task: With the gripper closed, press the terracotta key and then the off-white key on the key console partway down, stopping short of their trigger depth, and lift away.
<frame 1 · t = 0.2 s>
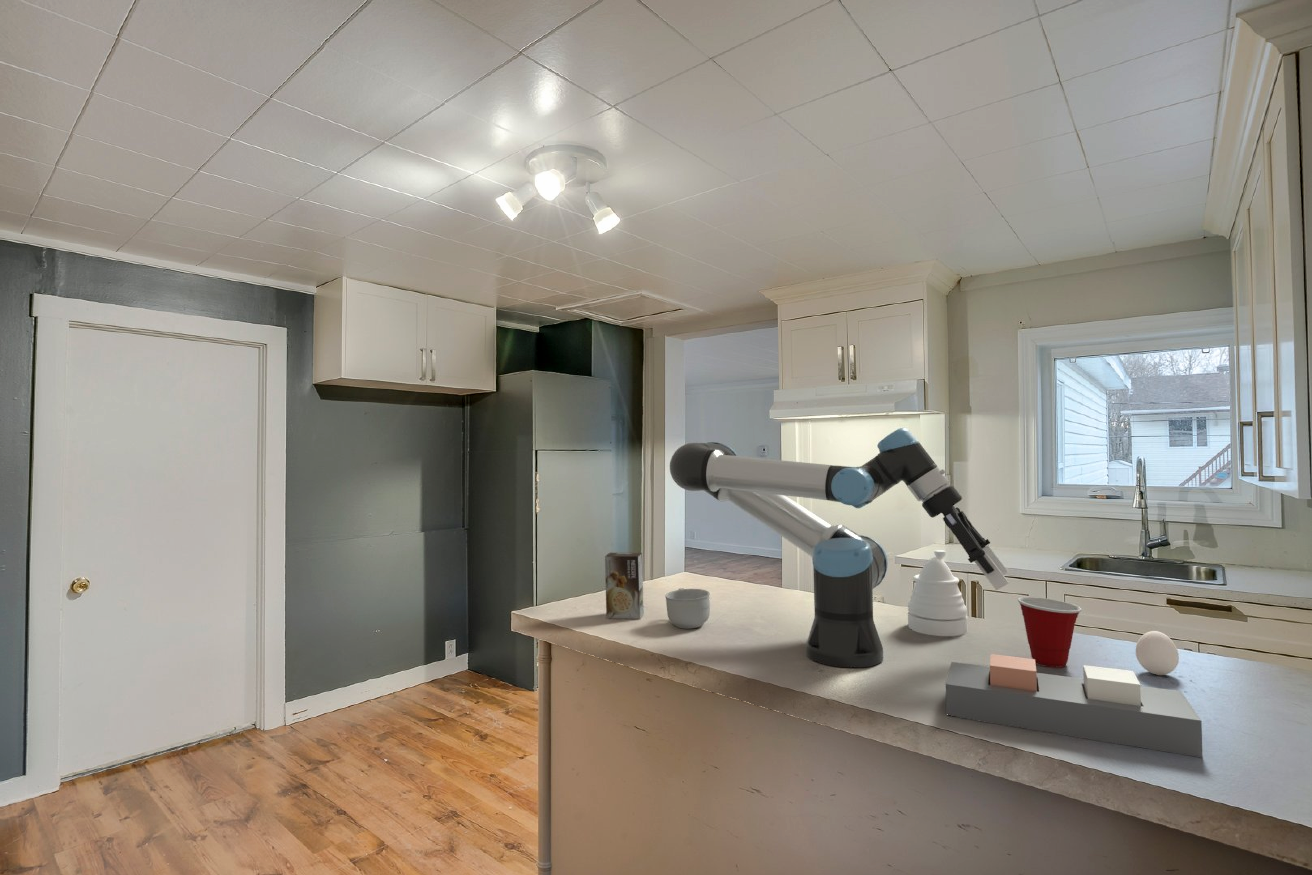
hand: (1002, 580, 132), 15 cm above the counter, tool tilted 35°, fingers open, 13 cm apart
terracotta key: (1013, 674, 105), point 6 cm above the counter, slide at 0.0 cm
plastic cup: (1050, 663, 128), on the counter
offwhite key: (1110, 687, 99), point 6 cm above the counter, slide at 0.0 cm
egg: (1157, 675, 121), on the counter
teacup: (687, 624, 161), on the counter
key console: (1061, 719, 102), on the counter
honey pot: (937, 629, 154), on the counter
coffee box: (625, 616, 170), on the counter
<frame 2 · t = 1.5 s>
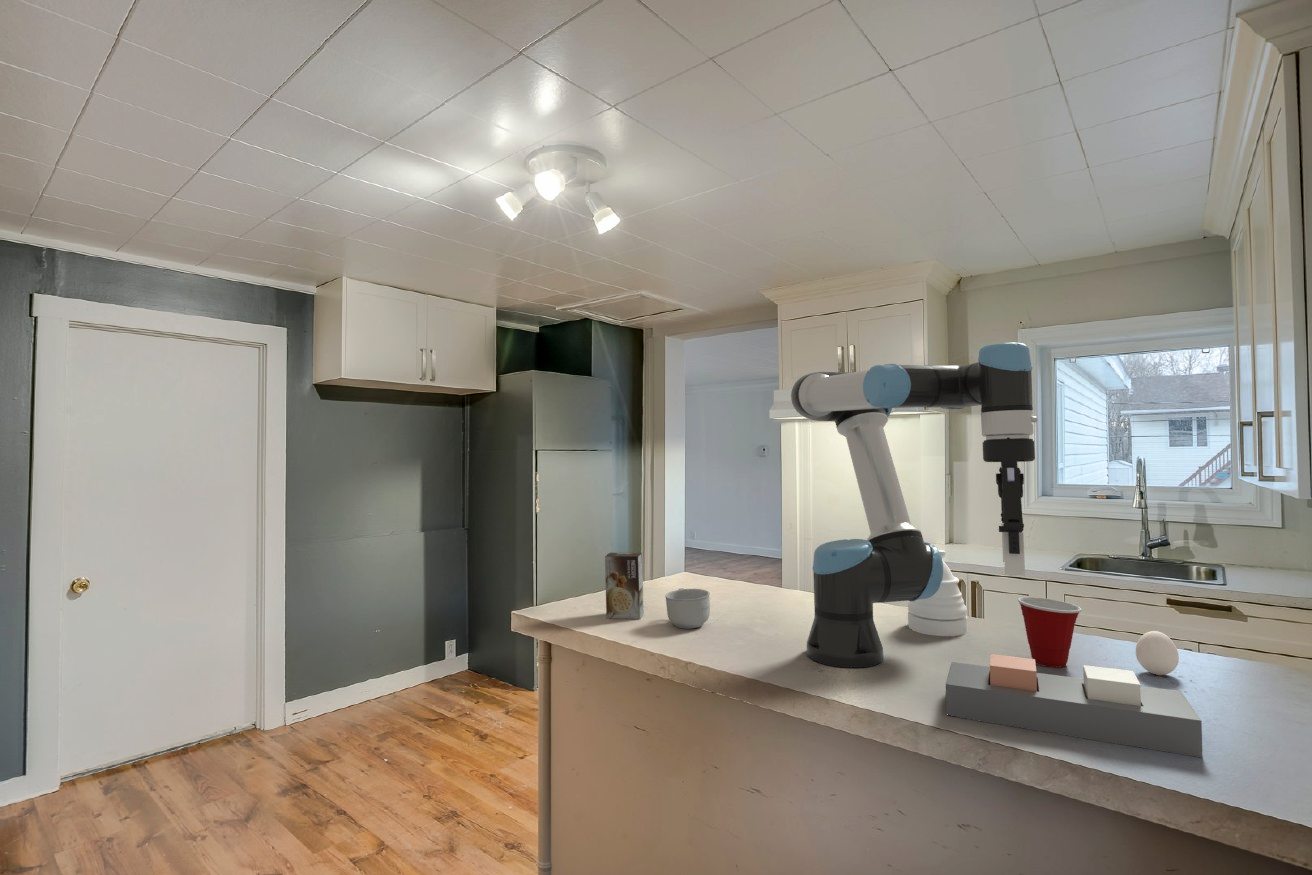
hand: (1013, 568, 107), 23 cm above the counter, tool pointing down, fingers open, 13 cm apart
nothing on the counter moved.
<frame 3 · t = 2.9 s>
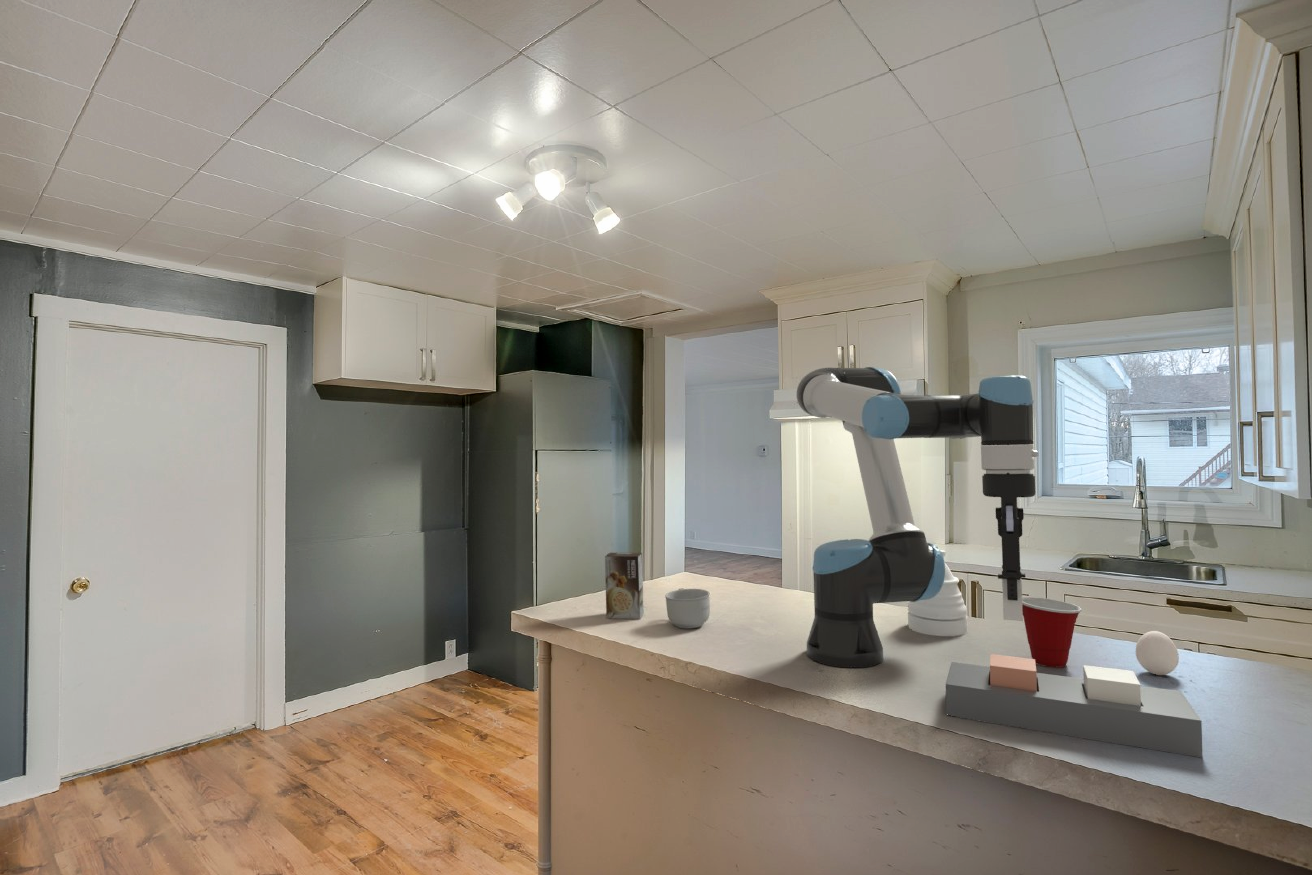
hand: (1013, 619, 105), 15 cm above the counter, tool pointing down, fingers closed
nothing on the counter moved.
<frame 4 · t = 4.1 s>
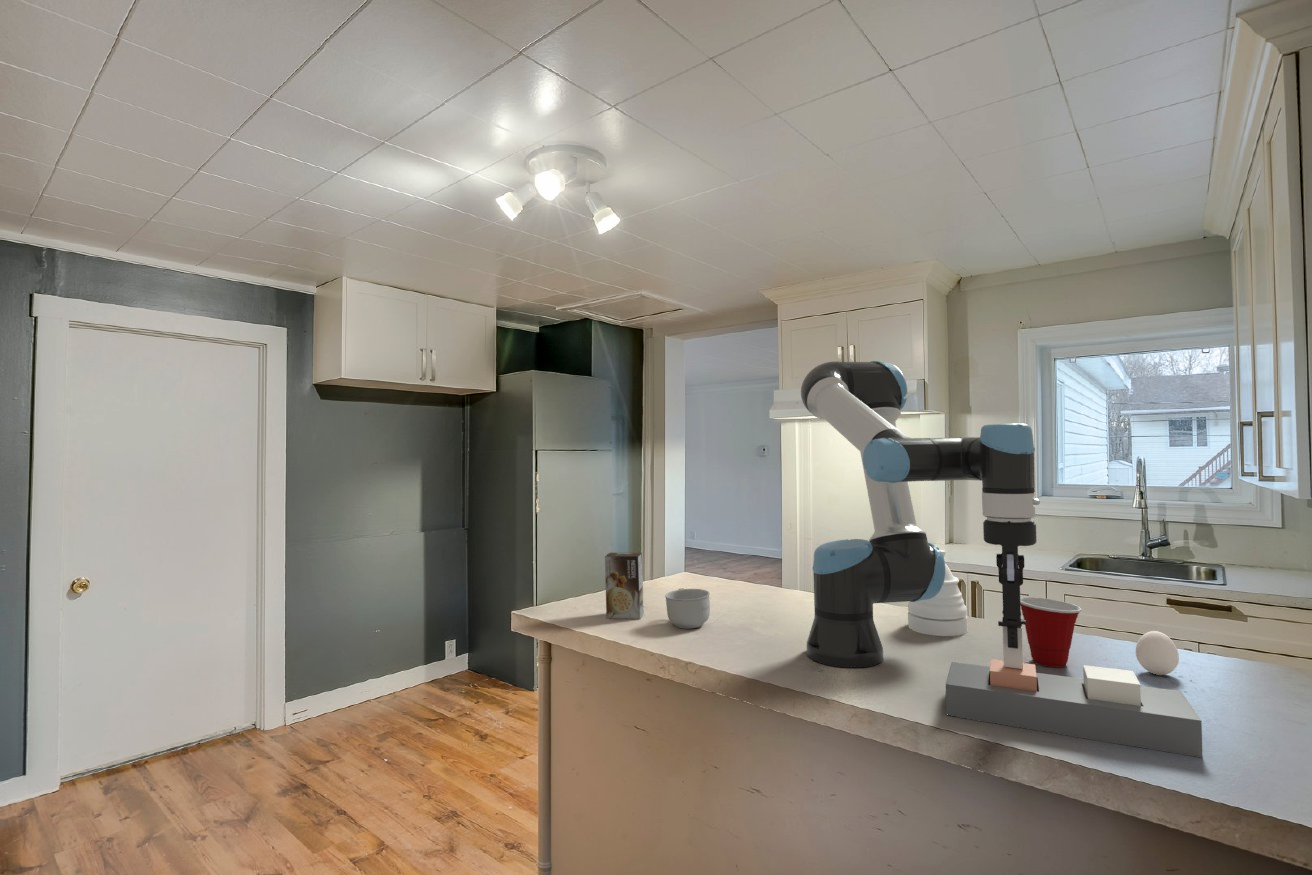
hand: (1013, 666, 105), 7 cm above the counter, tool pointing down, fingers closed
terracotta key: (1013, 680, 105), point 5 cm above the counter, slide at 0.9 cm, touching gripper
everything else where it was.
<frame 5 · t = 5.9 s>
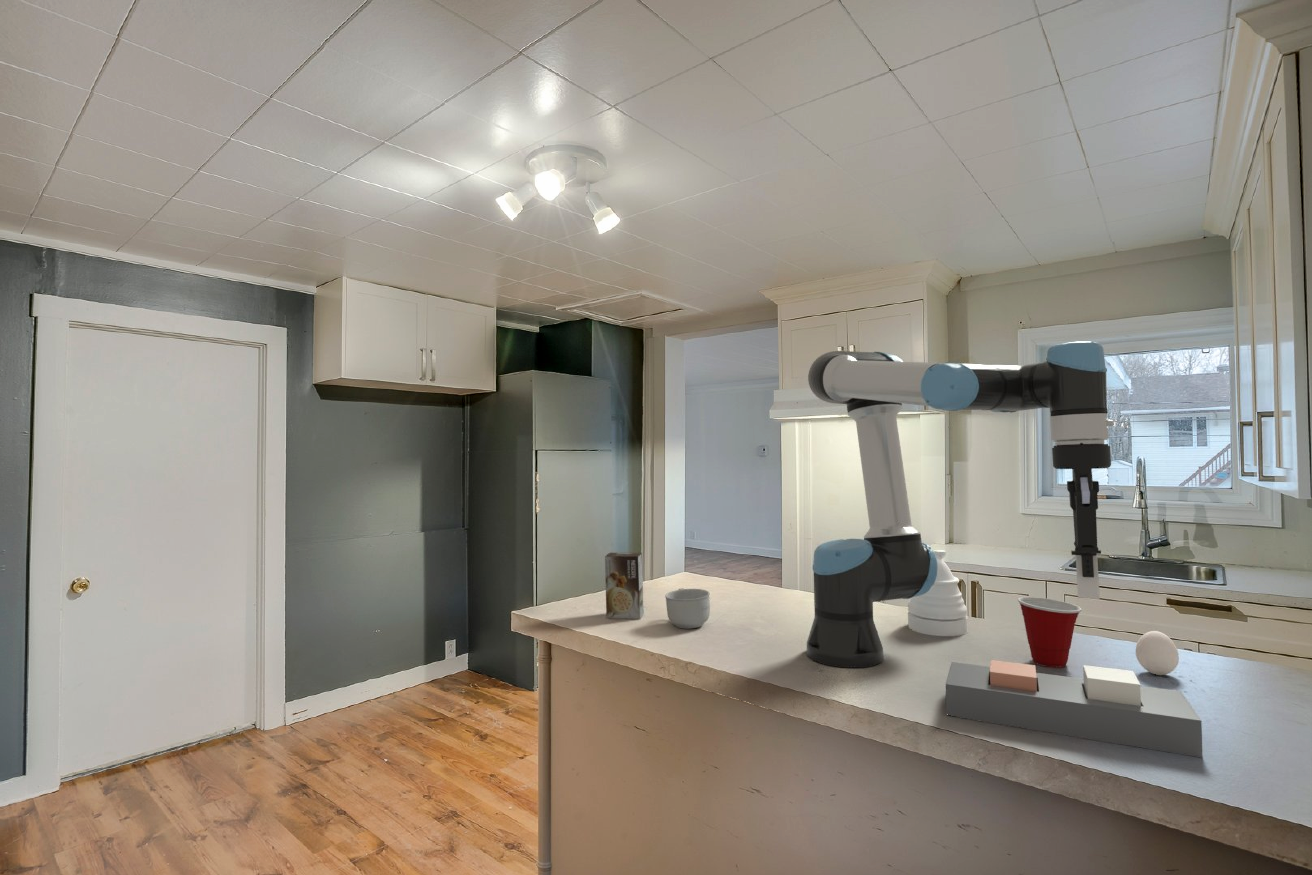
hand: (1088, 597, 100), 20 cm above the counter, tool pointing down, fingers closed
terracotta key: (1013, 680, 105), point 5 cm above the counter, slide at 1.0 cm
everything else where it was.
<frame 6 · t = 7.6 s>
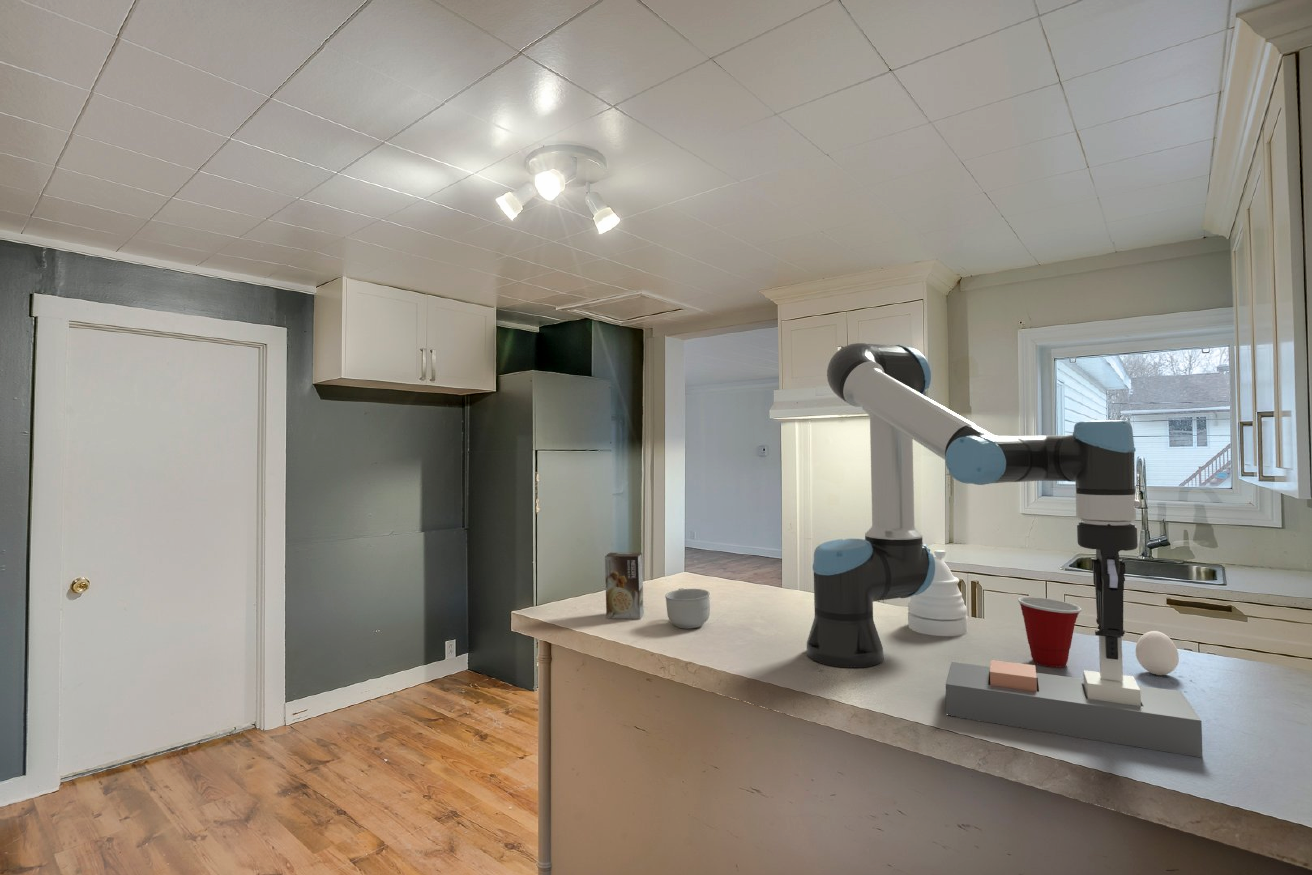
hand: (1111, 678, 99), 7 cm above the counter, tool pointing down, fingers closed
offwhite key: (1111, 692, 99), point 5 cm above the counter, slide at 0.8 cm, touching gripper
everything else where it was.
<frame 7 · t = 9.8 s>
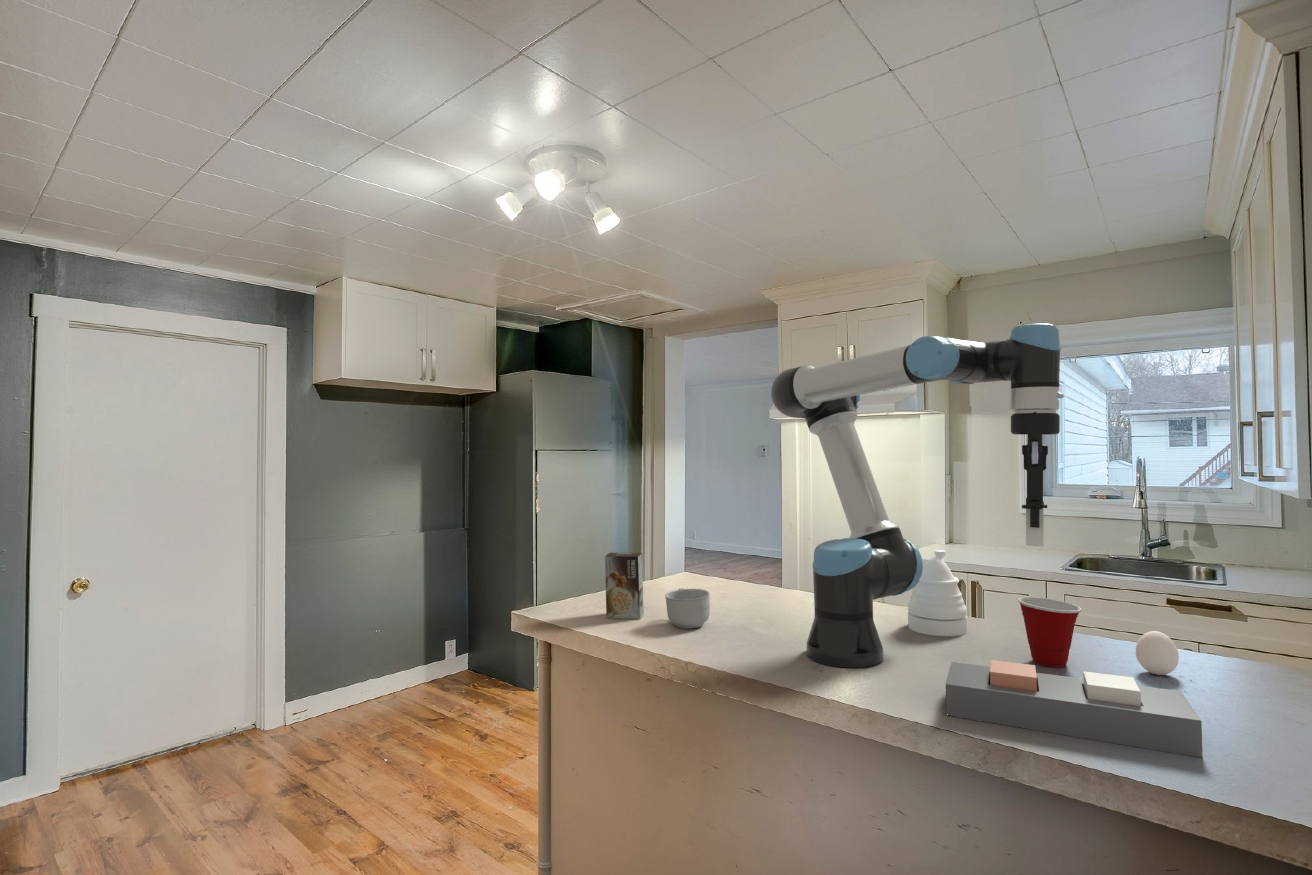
hand: (1034, 545, 116), 25 cm above the counter, tool pointing down, fingers closed
offwhite key: (1111, 694, 99), point 5 cm above the counter, slide at 1.0 cm
everything else where it was.
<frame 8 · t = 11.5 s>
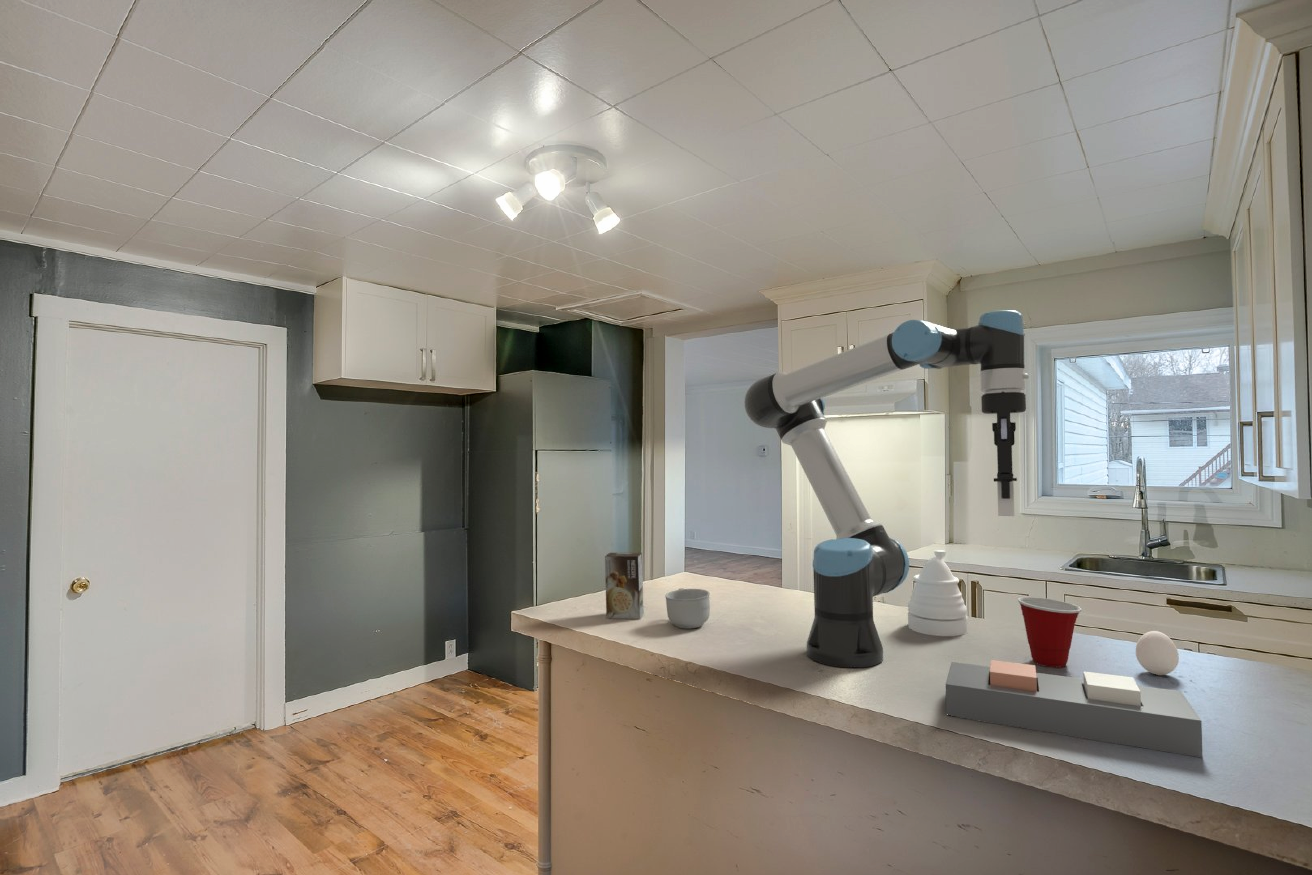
hand: (1006, 515, 125), 29 cm above the counter, tool pointing down, fingers closed
nothing on the counter moved.
at the end: terracotta key slide at 1.0 cm; offwhite key slide at 1.0 cm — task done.
